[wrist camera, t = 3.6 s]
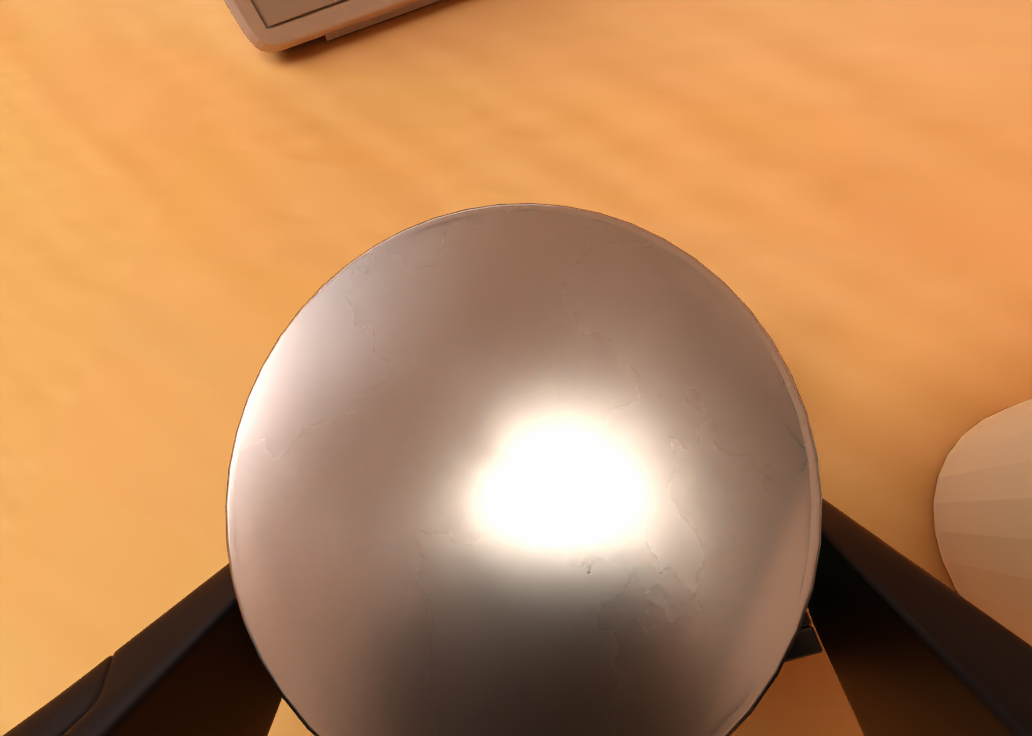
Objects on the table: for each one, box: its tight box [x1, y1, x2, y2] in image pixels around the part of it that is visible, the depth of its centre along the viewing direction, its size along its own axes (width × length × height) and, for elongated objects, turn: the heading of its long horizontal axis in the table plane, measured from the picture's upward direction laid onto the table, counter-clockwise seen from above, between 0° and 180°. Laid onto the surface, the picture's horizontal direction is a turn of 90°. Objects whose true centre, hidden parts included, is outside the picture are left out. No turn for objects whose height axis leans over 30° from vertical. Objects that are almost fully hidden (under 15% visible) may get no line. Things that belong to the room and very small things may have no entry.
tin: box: [225, 203, 822, 736], centre depth 11 cm, size 6×6×12 cm
